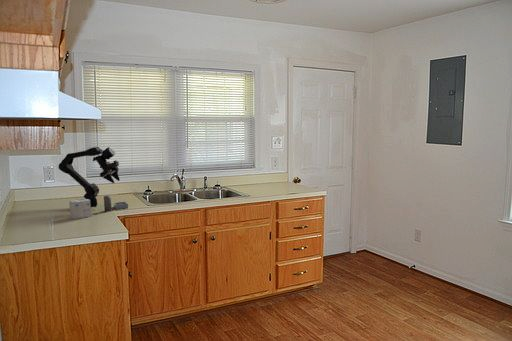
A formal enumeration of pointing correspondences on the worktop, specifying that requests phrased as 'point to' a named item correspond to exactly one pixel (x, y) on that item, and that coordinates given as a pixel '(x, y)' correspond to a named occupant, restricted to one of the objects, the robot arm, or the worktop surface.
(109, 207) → the charger
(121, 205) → the charging dock
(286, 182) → the worktop surface
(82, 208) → the light bulb box
